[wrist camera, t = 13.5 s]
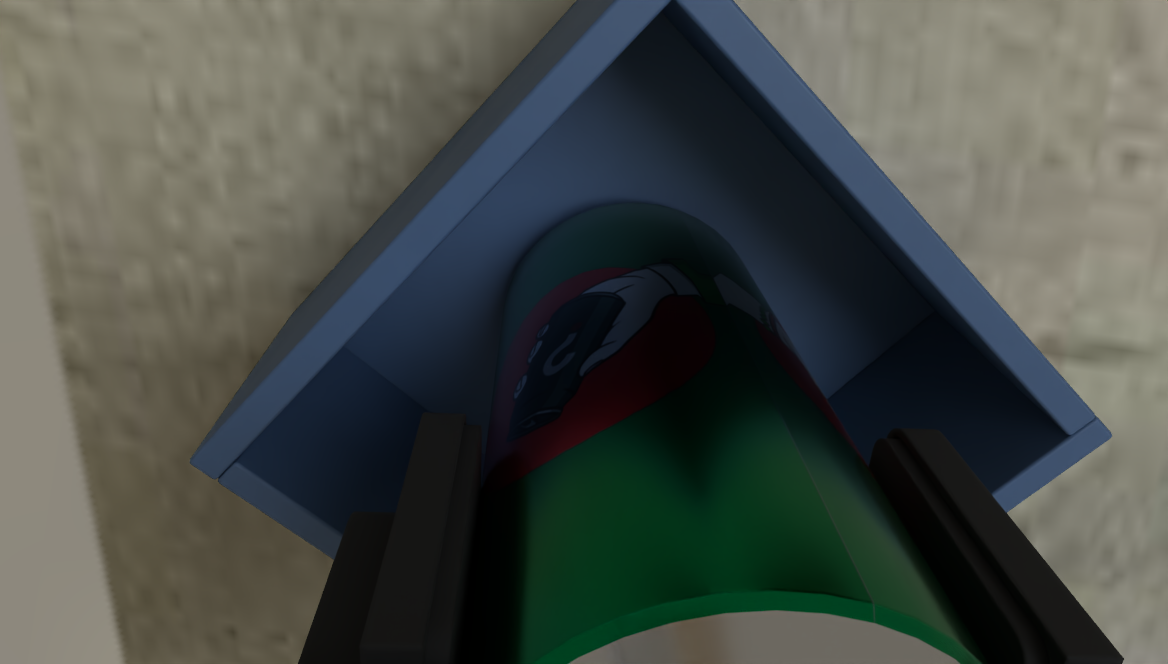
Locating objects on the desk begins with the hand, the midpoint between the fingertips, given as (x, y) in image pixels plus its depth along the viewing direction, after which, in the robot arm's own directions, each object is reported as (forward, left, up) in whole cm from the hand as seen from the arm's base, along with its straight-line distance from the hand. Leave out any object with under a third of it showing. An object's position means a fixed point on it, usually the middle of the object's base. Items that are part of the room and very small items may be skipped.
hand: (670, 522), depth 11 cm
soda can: (0, 0, -7) cm, 7 cm away
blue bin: (0, 0, -7) cm, 7 cm away
